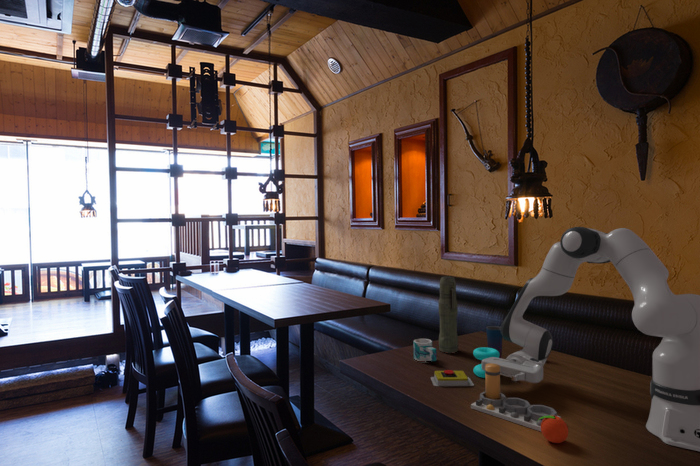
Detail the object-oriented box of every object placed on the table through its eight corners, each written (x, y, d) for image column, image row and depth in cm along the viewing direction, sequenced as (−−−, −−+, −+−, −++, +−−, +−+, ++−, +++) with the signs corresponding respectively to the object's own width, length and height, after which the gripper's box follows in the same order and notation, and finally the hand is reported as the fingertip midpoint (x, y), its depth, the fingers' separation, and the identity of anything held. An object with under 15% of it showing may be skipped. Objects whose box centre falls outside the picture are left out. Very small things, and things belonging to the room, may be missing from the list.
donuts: (503, 353, 167) (476, 353, 167) (503, 379, 167) (477, 379, 167) (495, 346, 177) (470, 346, 177) (495, 370, 177) (470, 370, 177)
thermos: (449, 355, 198) (448, 278, 197) (433, 349, 208) (432, 276, 208) (464, 352, 201) (463, 277, 201) (448, 346, 212) (447, 274, 211)
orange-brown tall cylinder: (503, 401, 144) (502, 365, 143) (496, 405, 140) (495, 369, 140) (490, 397, 147) (489, 362, 147) (482, 401, 144) (482, 365, 143)
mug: (425, 355, 198) (425, 337, 198) (441, 363, 187) (441, 343, 187) (410, 358, 195) (410, 339, 195) (426, 366, 184) (425, 346, 184)
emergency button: (430, 367, 171) (468, 367, 170) (430, 378, 171) (468, 378, 170) (433, 375, 161) (474, 375, 161) (433, 387, 161) (474, 387, 161)
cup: (505, 361, 188) (504, 327, 187) (501, 366, 182) (500, 330, 182) (489, 359, 191) (488, 325, 191) (484, 363, 186) (484, 328, 185)
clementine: (537, 445, 118) (536, 419, 118) (535, 433, 124) (535, 408, 124) (570, 450, 115) (569, 423, 115) (567, 437, 122) (566, 412, 121)
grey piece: (560, 420, 132) (560, 410, 132) (545, 433, 124) (545, 422, 124) (487, 398, 149) (487, 389, 149) (470, 408, 142) (470, 398, 142)
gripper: (492, 350, 164) (472, 359, 154) (547, 362, 149) (529, 372, 140) (492, 367, 164) (472, 376, 155) (547, 381, 149) (529, 392, 140)
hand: (500, 375), depth 147 cm, fingers open, 8 cm apart
